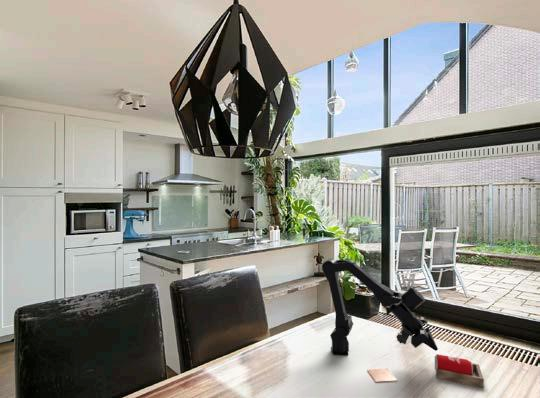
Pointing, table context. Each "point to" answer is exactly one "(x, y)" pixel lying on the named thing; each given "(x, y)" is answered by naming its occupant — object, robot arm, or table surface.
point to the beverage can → (453, 364)
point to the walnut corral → (463, 376)
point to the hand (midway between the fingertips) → (436, 349)
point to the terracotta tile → (382, 375)
